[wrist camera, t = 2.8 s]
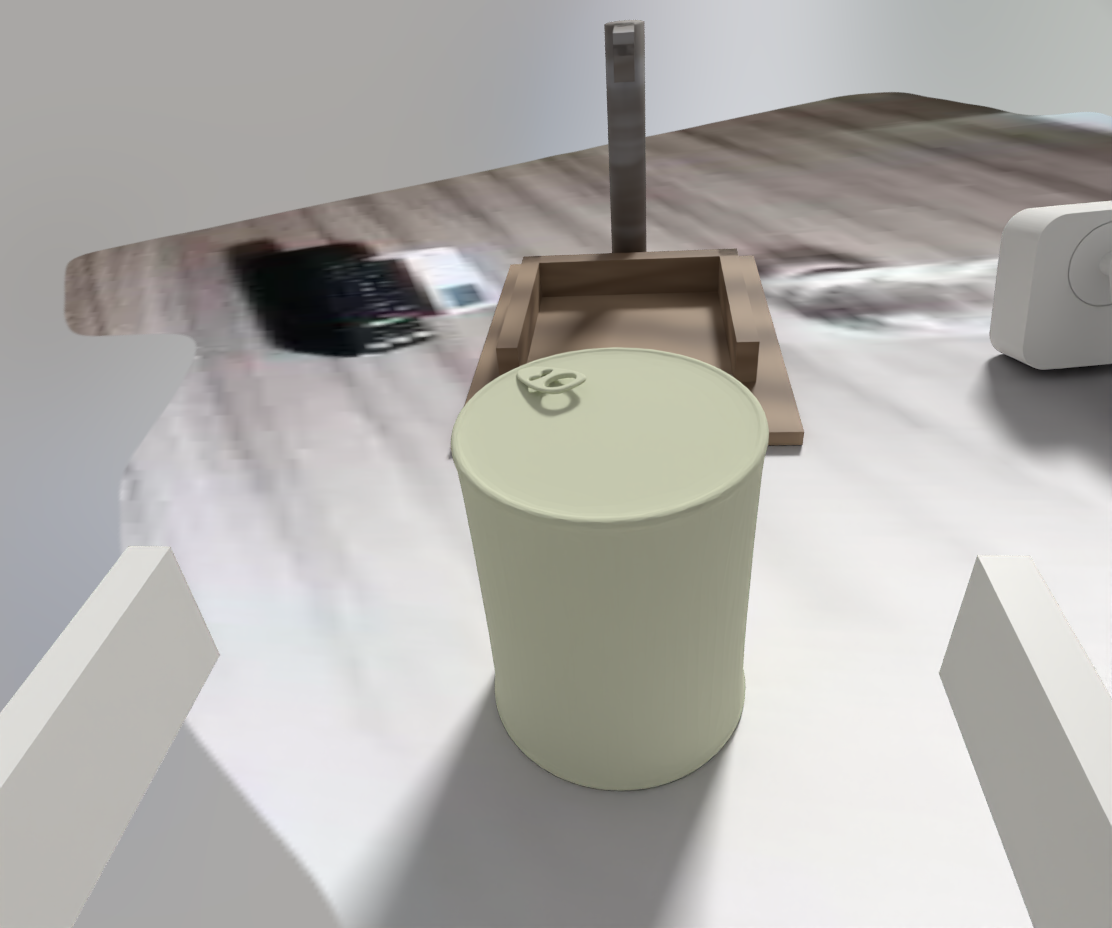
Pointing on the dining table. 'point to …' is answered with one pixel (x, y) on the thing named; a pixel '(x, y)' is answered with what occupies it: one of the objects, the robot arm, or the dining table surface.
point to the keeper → (641, 280)
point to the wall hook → (1055, 287)
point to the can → (614, 557)
